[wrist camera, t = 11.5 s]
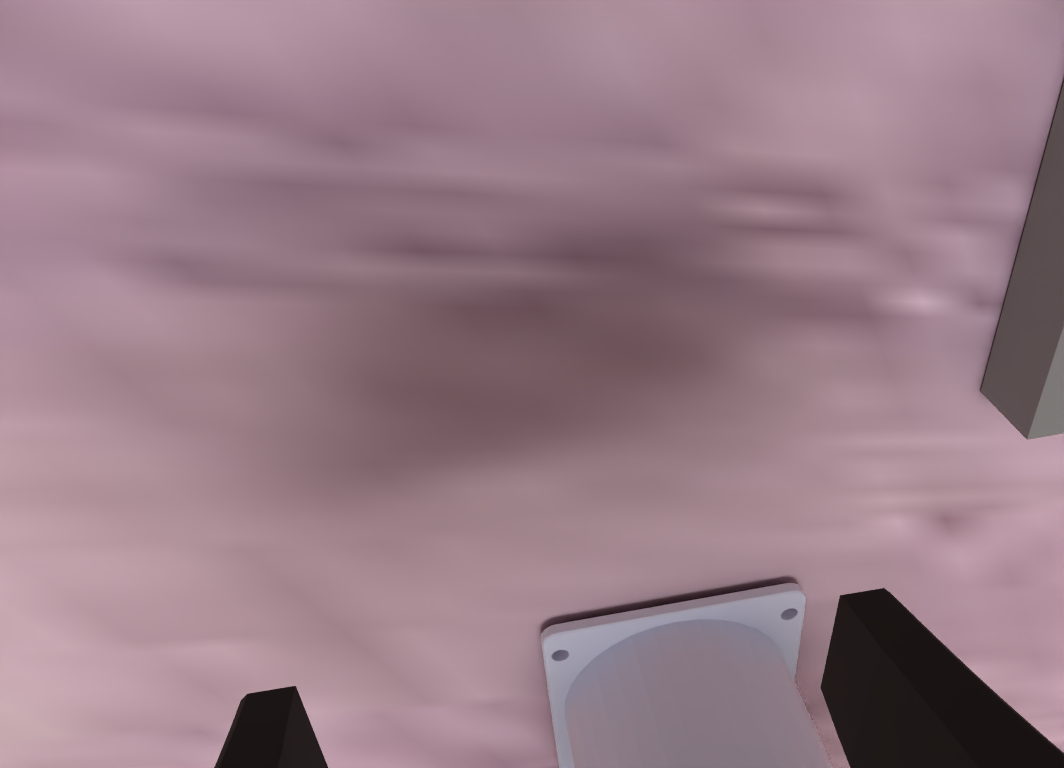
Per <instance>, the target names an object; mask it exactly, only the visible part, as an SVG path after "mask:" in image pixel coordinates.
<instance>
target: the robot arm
mask: <svg viewBox="0 0 1064 768" xmlns="http://www.w3.org/2000/svg"><path fill="white" fill-rule="evenodd" d="M805 605H806V595H805V593H804V591H803V589H802V587H801V586H800V585H799V584H795V583H784V584H779V585H773V586H768V587H762V588H756V589H751V590H745V591H740V592H734V593H728V594H723V595H717V596H711V597H706V598H700V599H695V600H689V601H683V602H678V603H672V604H667V605H661V606H655V607H650V608H644V609H639V610H633V611H627V612H622V613H616V614H610V615H605V616H599V617H594V618H588V619H582V620H577V621H571V622H566V623H560V624H555V625H552V626H549V627H548V628H546V629H545V630H544V631H543V632H542V633H541V638H540V639H541V646H542V653H543V660H544V667H545V674H546V681H547V688H548V695H549V702H550V709H551V716H552V723H553V730H554V737H555V744H556V751H557V758H558V765H559V768H833V766H832V764H831V761H830V759H829V757H828V755H827V753H826V750H825V748H824V746H823V744H822V742H821V739H820V737H819V735H818V733H817V731H816V728H815V726H814V724H813V722H812V720H811V717H810V715H809V713H808V711H807V708H806V706H805V704H804V702H803V700H802V697H801V695H800V693H799V691H798V689H797V686H796V684H795V682H794V681H795V674H796V667H797V660H798V653H799V646H800V639H801V632H802V625H803V618H804V612H805ZM821 690H822V692H823V695H824V698H825V701H826V704H827V706H828V709H829V712H830V715H831V718H832V720H833V723H834V726H835V729H836V731H837V734H838V737H839V739H840V742H841V744H842V747H843V750H844V752H845V755H846V757H847V760H848V763H849V765H850V767H851V768H1064V753H1063V752H1062V751H1061V750H1059V749H1058V748H1057V747H1056V746H1055V745H1054V744H1052V743H1051V742H1050V741H1049V740H1048V739H1047V738H1046V737H1044V736H1043V735H1042V734H1041V733H1040V732H1039V731H1038V730H1037V729H1035V728H1034V727H1033V726H1032V725H1031V724H1030V723H1029V722H1027V721H1026V720H1025V719H1024V718H1023V717H1022V716H1021V715H1020V714H1018V713H1017V712H1016V711H1015V710H1014V709H1013V708H1012V707H1011V706H1009V705H1008V704H1007V703H1006V702H1005V701H1004V700H1003V699H1002V698H1000V697H999V696H998V695H997V694H996V693H995V692H994V691H993V690H992V689H991V688H990V687H988V686H987V685H986V684H985V683H984V682H983V681H982V680H981V679H980V678H979V677H978V676H977V675H975V674H974V673H973V672H972V671H971V670H970V669H969V668H968V667H967V666H966V665H965V664H964V663H963V662H962V661H961V660H960V659H958V658H957V657H956V656H955V655H954V654H953V653H952V652H951V651H950V650H949V649H948V648H947V647H946V646H945V645H944V644H943V643H942V642H941V641H940V640H938V639H937V638H936V637H935V636H934V635H933V634H932V633H931V632H930V631H929V630H928V629H927V628H926V627H925V626H924V625H923V624H922V623H921V622H920V621H919V620H918V619H917V618H916V617H915V616H914V615H913V614H912V613H911V612H909V611H908V610H907V609H906V608H905V607H904V606H903V605H902V604H901V603H900V602H899V601H898V600H897V599H896V598H895V597H894V596H893V595H892V594H891V593H890V592H888V591H887V590H886V589H884V588H882V589H876V590H870V591H864V592H858V593H852V594H846V595H840V599H839V603H838V608H837V613H836V617H835V622H834V627H833V632H832V636H831V641H830V646H829V651H828V655H827V660H826V665H825V670H824V674H823V679H822V684H821ZM214 768H328V766H327V764H326V761H325V759H324V756H323V754H322V751H321V749H320V746H319V744H318V741H317V739H316V736H315V733H314V731H313V728H312V726H311V723H310V721H309V718H308V716H307V713H306V711H305V708H304V706H303V703H302V701H301V698H300V696H299V693H298V691H297V688H296V686H292V687H286V688H280V689H274V690H268V691H262V692H256V693H250V694H247V695H246V696H245V697H244V698H243V699H242V700H241V702H240V704H239V707H238V710H237V712H236V715H235V718H234V720H233V723H232V726H231V728H230V731H229V733H228V736H227V738H226V741H225V743H224V746H223V748H222V751H221V753H220V755H219V758H218V760H217V763H216V765H215V767H214Z"/></svg>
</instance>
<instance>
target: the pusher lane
mask: <svg viewBox="0 0 1064 768" xmlns="http://www.w3.org/2000/svg"><path fill="white" fill-rule="evenodd" d="M980 392H981V393H982V394H983V395H984V396H985V397H986V398H987V399H988V400H989V401H990V402H991V403H992V404H993V405H994V406H995V407H996V408H997V409H998V410H999V411H1000V412H1001V413H1002V414H1003V415H1004V416H1005V417H1006V418H1007V419H1008V420H1009V422H1010V423H1011V424H1012V425H1013V426H1014V427H1015V428H1016V429H1017V430H1018V431H1019V432H1020V433H1021V434H1022V435H1023V436H1024V437H1025V438H1026V439H1033V438H1039V437H1045V436H1051V435H1057V434H1063V433H1064V83H1063V87H1062V90H1061V94H1060V98H1059V101H1058V105H1057V109H1056V113H1055V116H1054V120H1053V124H1052V127H1051V131H1050V135H1049V139H1048V142H1047V146H1046V150H1045V153H1044V157H1043V161H1042V165H1041V168H1040V172H1039V176H1038V180H1037V183H1036V187H1035V191H1034V194H1033V198H1032V202H1031V206H1030V209H1029V213H1028V217H1027V220H1026V224H1025V228H1024V232H1023V235H1022V239H1021V243H1020V246H1019V250H1018V254H1017V258H1016V261H1015V265H1014V269H1013V272H1012V276H1011V280H1010V284H1009V287H1008V291H1007V295H1006V298H1005V302H1004V306H1003V310H1002V313H1001V317H1000V321H999V325H998V328H997V332H996V336H995V339H994V343H993V347H992V351H991V354H990V358H989V362H988V365H987V369H986V373H985V377H984V380H983V384H982V388H981V391H980Z"/></svg>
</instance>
